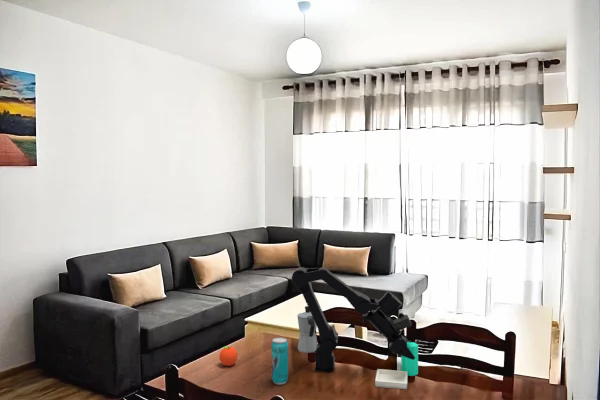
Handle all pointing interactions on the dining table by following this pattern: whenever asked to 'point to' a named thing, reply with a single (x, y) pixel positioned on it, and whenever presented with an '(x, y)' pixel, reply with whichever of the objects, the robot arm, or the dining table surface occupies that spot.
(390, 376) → the tray
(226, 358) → the clementine
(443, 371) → the dining table surface
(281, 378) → the beverage can
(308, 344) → the coffee maker
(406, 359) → the candle
